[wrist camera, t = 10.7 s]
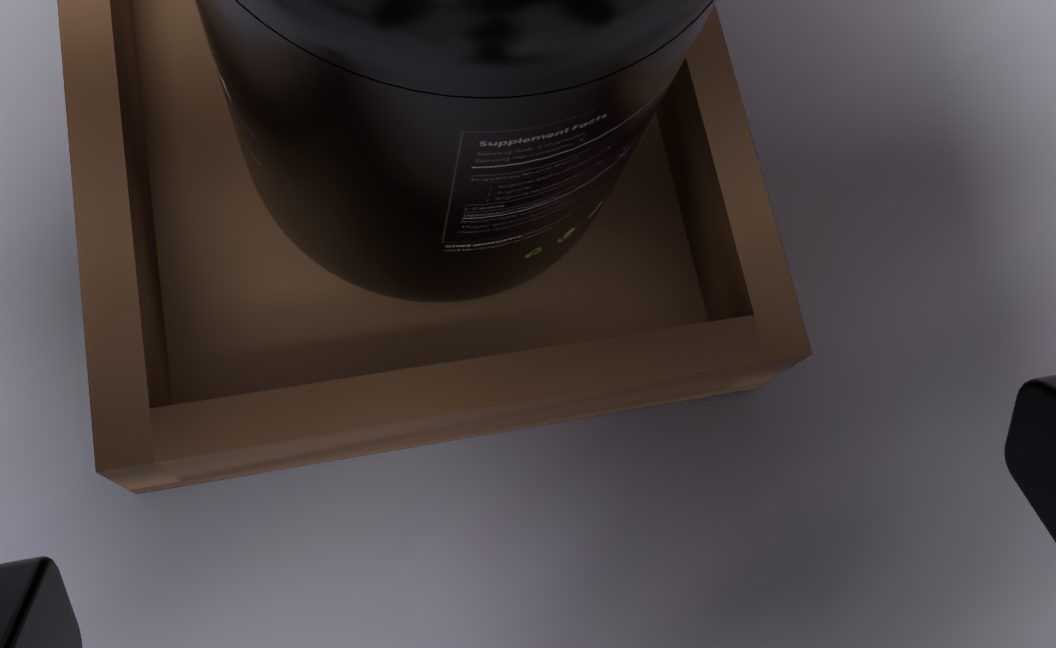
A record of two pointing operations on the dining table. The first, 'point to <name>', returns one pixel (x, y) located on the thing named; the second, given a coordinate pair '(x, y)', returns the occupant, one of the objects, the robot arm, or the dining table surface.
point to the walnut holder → (375, 320)
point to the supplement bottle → (442, 126)
